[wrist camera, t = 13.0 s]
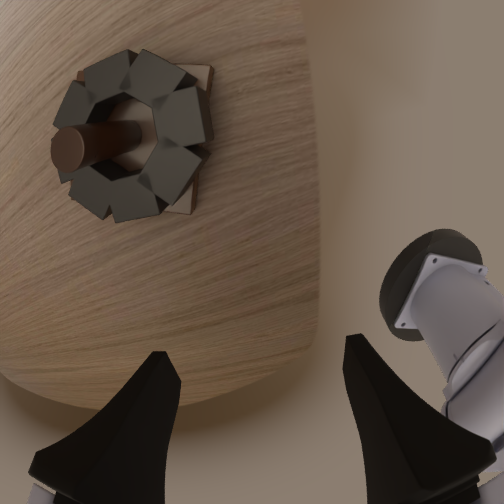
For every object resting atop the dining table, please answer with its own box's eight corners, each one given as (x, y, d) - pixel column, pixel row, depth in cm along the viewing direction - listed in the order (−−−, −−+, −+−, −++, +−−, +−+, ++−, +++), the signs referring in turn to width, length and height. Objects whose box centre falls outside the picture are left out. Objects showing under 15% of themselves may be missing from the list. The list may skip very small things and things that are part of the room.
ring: (94, 218, 16) (75, 232, 14) (66, 91, 12) (43, 91, 10) (224, 192, 16) (218, 205, 13) (198, 41, 12) (187, 28, 9)
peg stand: (214, 68, 13) (182, 34, 7) (195, 209, 17) (159, 264, 11) (87, 72, 13) (13, 65, 6) (79, 195, 17) (14, 235, 10)
